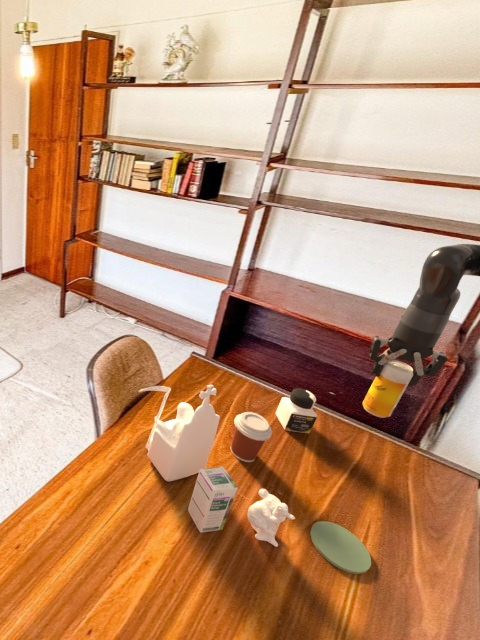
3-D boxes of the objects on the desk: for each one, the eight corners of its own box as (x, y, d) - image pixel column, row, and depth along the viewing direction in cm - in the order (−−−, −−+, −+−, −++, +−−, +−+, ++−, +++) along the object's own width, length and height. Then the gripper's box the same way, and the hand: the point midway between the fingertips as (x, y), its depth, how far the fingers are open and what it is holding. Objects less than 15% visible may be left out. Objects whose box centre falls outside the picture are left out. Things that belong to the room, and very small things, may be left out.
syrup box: (199, 533, 90) (215, 491, 84) (186, 509, 95) (200, 467, 89) (222, 530, 91) (239, 488, 85) (208, 506, 96) (222, 464, 90)
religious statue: (175, 434, 116) (197, 351, 103) (208, 472, 105) (238, 384, 92) (124, 448, 111) (141, 362, 98) (153, 490, 100) (177, 398, 87)
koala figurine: (288, 550, 87) (307, 515, 82) (261, 554, 86) (278, 519, 81) (263, 514, 95) (278, 480, 90) (237, 516, 94) (251, 482, 89)
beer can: (363, 399, 110) (385, 355, 104) (391, 411, 106) (416, 366, 100) (359, 410, 106) (382, 365, 100) (388, 422, 102) (414, 376, 96)
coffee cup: (267, 456, 110) (280, 424, 105) (250, 471, 106) (263, 439, 100) (236, 435, 117) (247, 404, 112) (218, 448, 112) (229, 416, 107)
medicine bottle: (284, 430, 119) (297, 400, 114) (274, 413, 126) (286, 384, 121) (309, 434, 118) (324, 403, 113) (298, 416, 125) (312, 387, 120)
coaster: (365, 539, 90) (367, 537, 90) (373, 585, 82) (375, 583, 81) (309, 514, 95) (310, 512, 95) (310, 555, 87) (312, 552, 86)
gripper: (386, 321, 95) (359, 377, 102) (468, 340, 88) (433, 398, 95) (381, 309, 101) (355, 362, 108) (457, 326, 94) (425, 382, 101)
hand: (392, 379), depth 102 cm, fingers closed on beer can, 6 cm apart
